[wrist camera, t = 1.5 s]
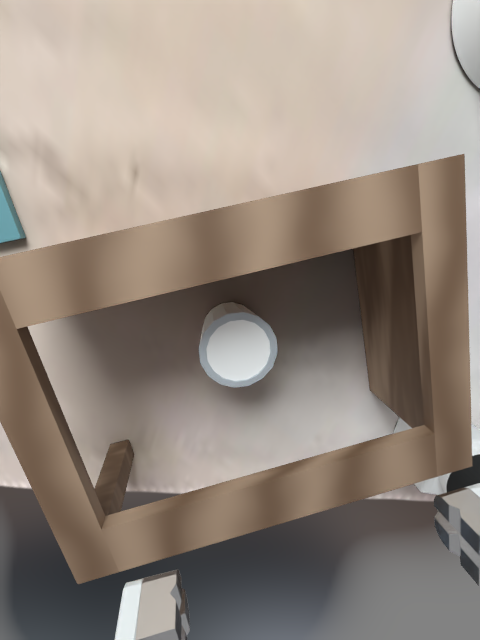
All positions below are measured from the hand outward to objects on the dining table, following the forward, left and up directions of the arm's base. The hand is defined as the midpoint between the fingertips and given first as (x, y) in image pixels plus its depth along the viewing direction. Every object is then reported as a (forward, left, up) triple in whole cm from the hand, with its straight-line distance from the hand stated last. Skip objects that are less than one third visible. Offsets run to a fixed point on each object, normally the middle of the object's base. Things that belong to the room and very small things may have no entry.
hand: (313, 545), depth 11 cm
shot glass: (0, +1, -27) cm, 27 cm away
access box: (0, +1, -27) cm, 27 cm away
